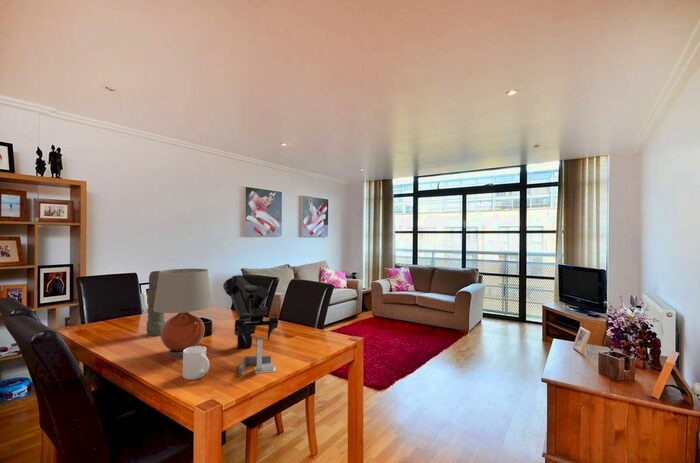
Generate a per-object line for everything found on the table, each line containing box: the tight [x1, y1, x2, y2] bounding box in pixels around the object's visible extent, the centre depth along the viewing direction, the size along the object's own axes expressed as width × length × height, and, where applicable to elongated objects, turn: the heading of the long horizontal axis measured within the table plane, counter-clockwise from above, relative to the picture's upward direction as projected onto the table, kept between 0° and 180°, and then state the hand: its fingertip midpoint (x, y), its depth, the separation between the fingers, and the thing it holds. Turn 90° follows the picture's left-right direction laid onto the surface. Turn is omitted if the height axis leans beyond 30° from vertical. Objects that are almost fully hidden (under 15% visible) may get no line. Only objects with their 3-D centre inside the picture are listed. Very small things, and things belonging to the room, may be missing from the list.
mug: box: [182, 345, 210, 381], centre depth 129 cm, size 12×8×10 cm
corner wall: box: [238, 354, 272, 377], centre depth 137 cm, size 11×13×3 cm
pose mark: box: [254, 365, 277, 375], centre depth 136 cm, size 8×6×1 cm
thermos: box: [146, 270, 166, 338], centre depth 183 cm, size 9×12×35 cm
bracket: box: [255, 336, 275, 372], centre depth 136 cm, size 7×4×13 cm, turn 111°
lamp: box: [153, 268, 213, 359], centre depth 155 cm, size 25×25×39 cm
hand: (257, 341), depth 143 cm, fingers open, 9 cm apart
